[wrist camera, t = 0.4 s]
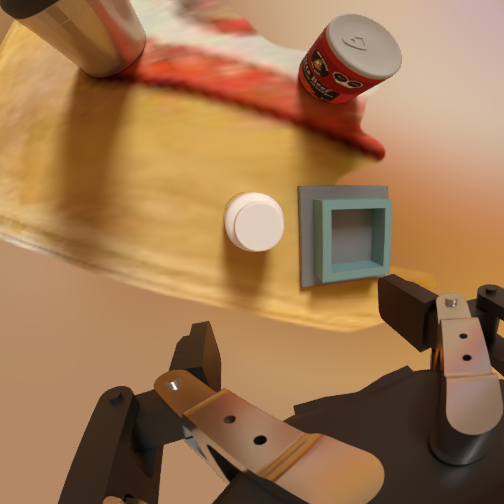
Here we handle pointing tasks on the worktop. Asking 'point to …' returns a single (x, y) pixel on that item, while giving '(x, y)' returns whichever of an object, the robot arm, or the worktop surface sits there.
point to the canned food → (349, 59)
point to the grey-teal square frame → (343, 233)
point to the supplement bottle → (253, 221)
